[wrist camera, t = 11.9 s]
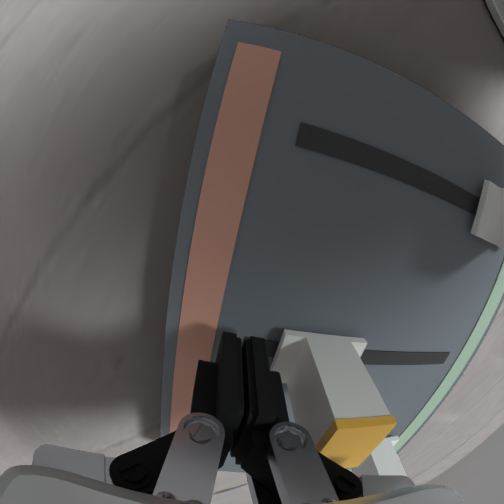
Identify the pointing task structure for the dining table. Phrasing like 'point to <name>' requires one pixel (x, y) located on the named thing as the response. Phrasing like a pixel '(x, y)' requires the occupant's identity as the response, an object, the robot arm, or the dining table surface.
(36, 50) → the dining table surface
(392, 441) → the breaker handle
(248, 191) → the breaker panel
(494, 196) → the block
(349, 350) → the block
